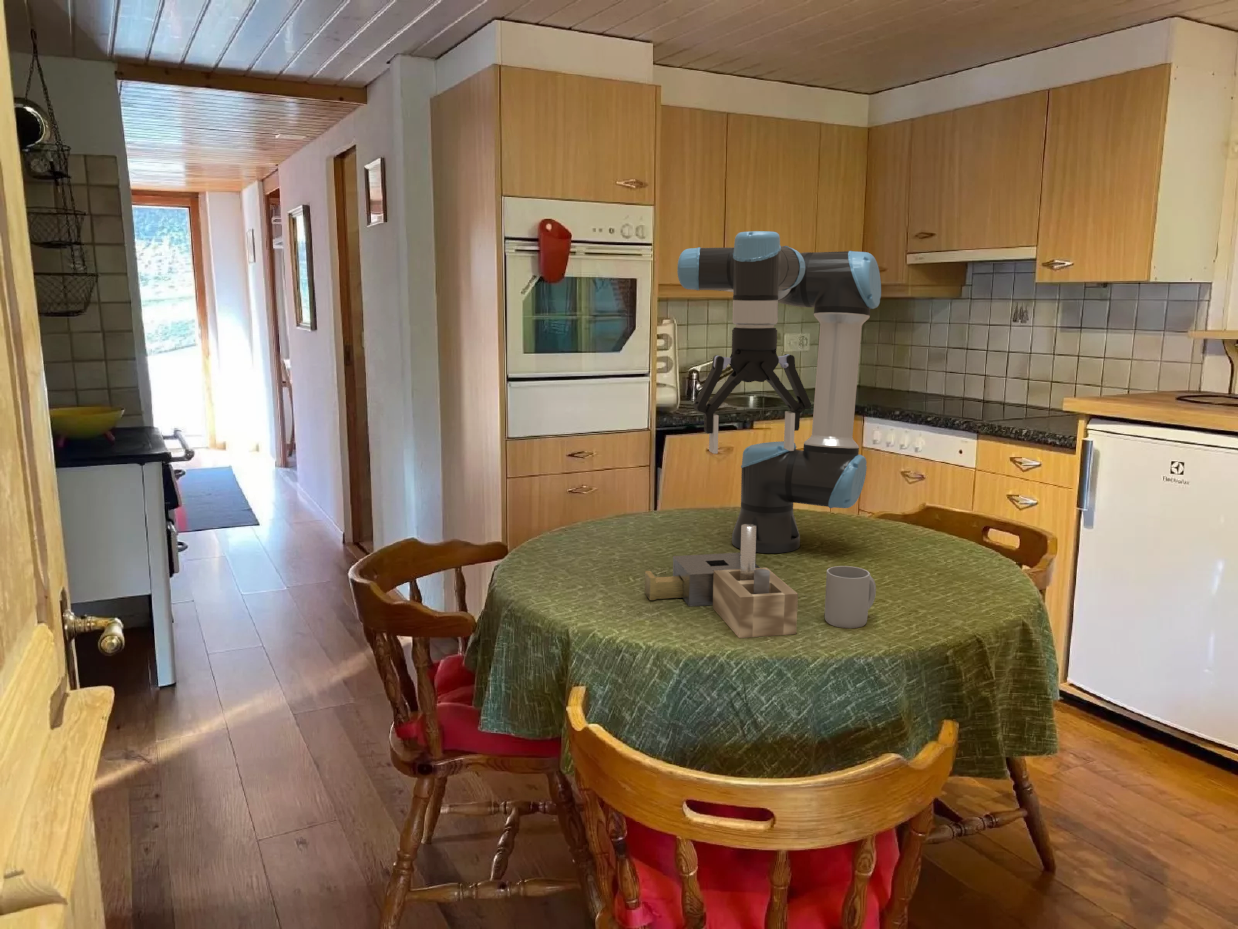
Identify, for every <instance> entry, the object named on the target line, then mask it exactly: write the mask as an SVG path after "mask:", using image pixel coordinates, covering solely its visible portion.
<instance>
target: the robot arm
mask: <svg viewBox="0 0 1238 929" xmlns="http://www.w3.org/2000/svg"><path fill="white" fill-rule="evenodd" d="M677 277H678V282H679V284H680V285H681V286H682V288H684V289H686V290H694V291H716V292H717V291H718V292H721V291H723V292H728V293H729V292H730V293H732V295H733V296H732V324H733V325H735V327H733V328H732V329H731V332H732V333H731V354H730V356H729V357H728V356H721V355H718V354H715V355H714V356H713V357H712V362H711V369H710V371H709V373H708V375H707V378H706V379H705V381H704V383H703V385H702V387H701V389H700V390H699V393H698V396H697V397H696V399H695V402H694V404H693V406H692V408H693V410H696V411H697V412H701V413H703V431H704V433H705V434H707V435H709V436H708V451H709V452H710V453H712V454H713V455H715V454H716V455H717V454H718V453H719V417H720V416H719V414H716V411H717V410H718V409H719V408H720V407H721V405H722V404H723V403H724V402H725V400H727V398H728V397H729V395H731V393H732V392H733V391H734V389H735V388H736V387H737V386H738V385H740V383H742V382H745V383H753V382H758V383H764V382H767V383H769V385H770V386H771V387H772V388H773V390H774V391H775V393H776V394H777V395H778V396H779V398H780V399H781V400H782V402H783V403H784V404H785V405H786V407H787V408H788V411H787V410H786V411H784V433H783V434H784V436H783V441H767V442H761V443H756V444H751V445H749V446H747V447H745V449H744V450H743V451H742V452H743V453H742V461H741V465H740V468H741V476H740V478H741V480H740V481H741V483H740V484H741V485H740V486H741V487H740V511H739V514H738V517H737V519H736V523H735V525H734V528H733V530H732V534H731V536H732V537H731V543H732V545H733V547H735V548H737V549H740V550H741V525H743V524H753V525H756V553H761V554H784V553H788V552H790V553H791V552H793V551H796V550H797V549H799V548H800V547H801V546H800V543H801V535H800V532H799V529H798V525H797V521H796V518H795V515H794V504H802V505H808V506H809V505H811V506H819V507H827V508H829V509H834V508H837V509H849V508H851V507H853V506H854V505H855V504H856V502H857V501H858V500H859V498H860V496H861V493H862V490H863V487H864V484H865V481H866V476H867V467H868V466H867V458H866V457H865V456H864V455H862V454H859V452H860V446H859V445H858V443H857V442H856V441H855V440H854V437H853V434H854V424H855V422H854V421H855V410H856V400H857V399H856V398H857V397H856V396H857V386H858V372H859V360H860V348H861V338H862V327H863V325H864V323H866V321H868V320H869V319H870V316H871V310H874V309H876V308H878V307H879V305H880V303H881V298H882V282H881V281H882V280H881V274H880V268H879V264H878V262H877V260H876V258H875V256H874V255H873V254H871V253H869V252H868V251H867V252H866V251H853V250H847V251H843V250H842V251H819V252H818V251H817V252H810V251H806V252H805V251H803V252H799V251H798V250H796V249H794V248H793V247H789V246H788V245H781V237H780V234H779V233H778V232H776V231H768V230H767V231H766V230H765V231H763V230H760V231H759V230H753V231H741V232H737V234H736V235H735V238H734V245H733V247H701V246H700V247H699V246H698V247H695V248H694V247H693V248H686V249H684V250H683V251H681V253H680V255H679V257H678V260H677ZM779 304H783V305H787V306H791V307H799V308H813V316H814V318H815V319H816V320H817V321H818V322H819V334H818V335H819V338H818V349H817V363H816V377H815V389H814V402H813V416H812V428H811V435H810V437H809V438H808V439H806V440H805V441H804V442H803V449H802V450H801V449H800V450H799V449H797V445H796V443H795V431H796V432H797V431H799V430H800V426H801V425H800V424H801V423H800V420H801V414H802V413H803V411H804V410H806V409H810V408H811V407H812V402H811V400H810V398H809V396H808V394H807V392H806V390H805V389H806V388H805V386H804V384H803V382H802V380H801V377H800V375H799V373H798V371H797V368H796V357H795V356H794V355H793V354H787V353H785V354H783V355H780V356H778V354H777V349H778V329H777V327H775V326H776V325H777V324H778V322H779V320H778V318H779ZM728 365H729V366H730V368H731V369H732V372H731V373H729V375H728V377H727V379H726V380H725V382H724V383H723V384H722V385H721V387H720V388H719V389H718V390H717V391H716V393H715V394H714V395H713V396H712V394H713V391H714V389H715V387H716V386H717V384H718V382H719V379H720V377H721V375H722V373H723V370H725V369H726V368H727V367H728ZM778 365H780V367H781V368H782V369H783V371H784V373H785V375H786V377H787V380H788V382H789V384H790V387H791V389H792V391H793V393H794V395H795V398H796V399H795V398H794V397H793V395H792V394H791V393H790V392H789V390H788V389H787V387H786V386H785V385H784V383H782V381H781V379H780V378H779V376H778V375H777V374H776V372H775V370H776V368H777V366H778ZM711 396H712V398H711ZM796 400H797V401H796Z"/></svg>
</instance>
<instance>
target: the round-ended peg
mask: <svg viewBox="0 0 1238 929" xmlns="http://www.w3.org/2000/svg"><path fill="white" fill-rule="evenodd" d="M740 553H741V556H740V581H743V580H754V570H755V563H756V553H757V552H756V525H753V524H743V525H741V549H740Z"/></svg>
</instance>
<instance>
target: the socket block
mask: <svg viewBox="0 0 1238 929" xmlns="http://www.w3.org/2000/svg"><path fill="white" fill-rule="evenodd" d="M740 556H741V552H725V553H711V554H709V553H707V554H706V553H705V554H692V555H689V554H688V555H687V554H686V555H673V557H672V576H681V578H682V579H683V597H682V599H683V600H684V602H685V604H687V606H688V607H700V606H713V576H714V571H715V570H733V569H740ZM755 568H761V566H759V565H758V564H757V563H756V562H755Z"/></svg>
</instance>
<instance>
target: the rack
mask: <svg viewBox="0 0 1238 929" xmlns="http://www.w3.org/2000/svg"><path fill="white" fill-rule="evenodd" d="M798 602H799V594H798V592H796V590H794V589H793V588H792V587H791V586H790V585H789V584H787V583H786V582H784V580H782V579H781V578H780V577H779V576H778V575H776V574H775V573H774V572H773V571H772V570H770V569H769V567H760V568H755V570H754V580H743V581H740V569H733V570H715V571H714V576H713V605H712V609H713V610H714V611H715V612H716V613H717V615H719V617H720V618H721V620H723V622H724V623H726V625H727V626H728V627H729V628H730V629H731V631H733V633H734V634H735V635H736V636H737V637H738V638H739V639H743V638H756V637H757V638H758V637H771V636H785V635H786V636H787V635H797V630H798V628H797V625H798V606H799V605H798Z"/></svg>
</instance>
